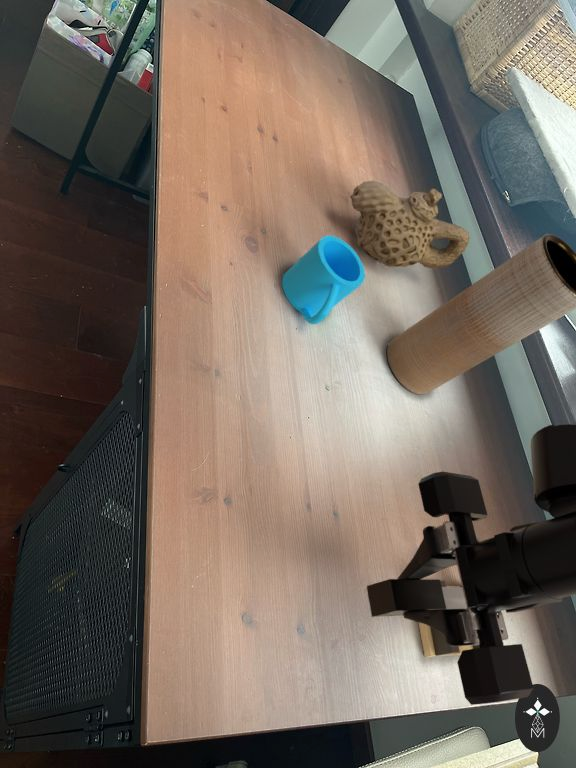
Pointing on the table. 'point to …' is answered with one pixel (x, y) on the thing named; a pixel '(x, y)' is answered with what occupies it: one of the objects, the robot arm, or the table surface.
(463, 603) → the knife
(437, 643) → the rack
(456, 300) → the vase
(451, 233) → the teapot
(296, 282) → the mug
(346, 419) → the table surface
